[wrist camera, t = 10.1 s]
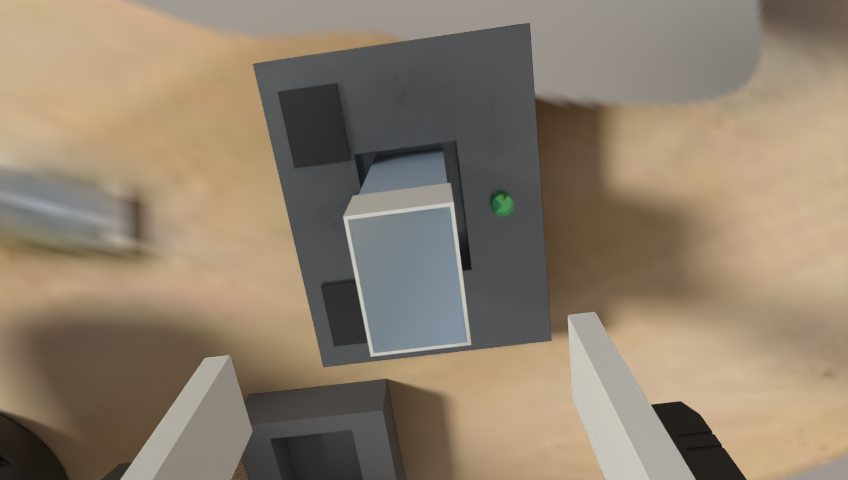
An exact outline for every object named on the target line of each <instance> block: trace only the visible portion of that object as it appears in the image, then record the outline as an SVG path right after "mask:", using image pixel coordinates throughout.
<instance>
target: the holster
mask: <svg viewBox="0 0 848 480" xmlns="http://www.w3.org/2000/svg"><path fill="white" fill-rule="evenodd" d="M244 404H245V407H246V410H247V414H248V417H249V421H250V424H251V427H252V431H253V432H252V434H251V436H250V438H249V441H248V443H247V445H246V447H245V450H244V452H243V454H242V456H241V457H242V460H243V463H244V467H245V470H246V473H247V476H248V480H406V479H405V474H404V469H403V463H402V458H401V453H400V447H399V442H398V437H397V432H396V426H395V421H394V416H393V410H392V405H391V400H390V395H389V389H388V384H387V379H383V380H374V381H365V382H356V383H348V384H339V385H330V386H321V387H313V388H304V389H295V390H286V391H278V392H269V393H260V394H251V395H248V397H247V399H246V401H245V403H244Z"/></svg>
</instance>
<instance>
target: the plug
mask: <svg viewBox="0 0 848 480" xmlns="http://www.w3.org/2000/svg"><path fill="white" fill-rule="evenodd" d="M343 219H344V224H345V229H346V234H347V239H348V244H349V249H350V254H351V259H352V264H353V270H354V275H355V280H356V285H357V290H358V295H359V300H360V305H361V310H362V315H363V320H364V325H365V330H366V335H367V340H368V346H369V351H370V356H371V357H372V356H381V355H390V354H398V353H407V352H415V351H424V350H432V349H441V348H450V347H458V346H467V345H471V338H470V330H469V322H468V314H467V306H466V298H465V290H464V282H463V274H462V266H461V258H460V250H459V242H458V234H457V226H456V218H455V210H454V202H453V195H452V188H451V183H447V177H446V170H445V162H444V154H443V147H442V148H435V149H427V150H420V151H413V152H405V153H398V154H391V155H383V156H376V157H375V158H374V161H373V163H372V165H371V167H370V170H369V172H368V174H367V177H366V179H365V181H364V183H363V186H362V188H361V190H360V193H359V195H354V196H353V197H352V199H351V201H350V203H349V205H348V207H347V209H346V211H345V214H344V216H343Z"/></svg>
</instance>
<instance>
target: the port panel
mask: <svg viewBox="0 0 848 480" xmlns="http://www.w3.org/2000/svg"><path fill="white" fill-rule="evenodd" d="M253 66H254V70H255V75H256V79H257V83H258V88H259V92H260V96H261V100H262V105H263V109H264V113H265V118H266V122H267V126H268V131H269V135H270V139H271V143H272V148H273V152H274V156H275V161H276V165H277V169H278V174H279V178H280V182H281V186H282V191H283V195H284V199H285V204H286V208H287V212H288V217H289V221H290V225H291V229H292V234H293V238H294V242H295V247H296V251H297V255H298V260H299V264H300V268H301V272H302V277H303V281H304V285H305V290H306V294H307V298H308V303H309V307H310V311H311V315H312V320H313V324H314V328H315V333H316V337H317V341H318V346H319V350H320V354H321V359H322V363H323V367H329V366H338V365H346V364H355V363H363V362H372V361H381V360H389V359H398V358H406V357H415V356H424V355H432V354H441V353H449V352H458V351H467V350H475V349H484V348H492V347H501V346H510V345H518V344H527V343H536V342H544V341H552V340H551V326H550V311H549V297H548V282H547V268H546V253H545V238H544V224H543V209H542V195H541V180H540V166H539V151H538V136H537V122H536V107H535V93H534V78H533V64H532V50H531V34H530V23H526V24H518V25H511V26H505V27H498V28H491V29H484V30H478V31H471V32H464V33H457V34H450V35H443V36H436V37H430V38H423V39H416V40H409V41H402V42H396V43H389V44H382V45H375V46H368V47H362V48H355V49H348V50H341V51H335V52H328V53H321V54H314V55H307V56H301V57H294V58H287V59H280V60H273V61H267V62H261V63H255V64H253ZM442 147H443V154H444V162H445V170H446V177H447V183H451V188H452V195H453V202H454V210H455V218H456V226H457V234H458V242H459V250H460V258H461V266H462V274H463V282H464V290H465V298H466V306H467V314H468V322H469V330H470V338H471V345H467V346H458V347H450V348H441V349H432V350H424V351H415V352H407V353H398V354H390V355H381V356H372V357H371V356H370V351H369V346H368V340H367V335H366V330H365V325H364V320H363V315H362V310H361V305H360V300H359V295H358V290H357V285H356V280H355V275H354V270H353V264H352V259H351V254H350V249H349V244H348V239H347V234H346V229H345V224H344V219H343V216H344V214H345V211H346V209H347V207H348V205H349V203H350V201H351V199H352V197H353V196H354V195H359V193H360V190H361V188H362V186H363V183H364V181H365V179H366V177H367V174H368V172H369V170H370V167H371V165H372V163H373V161H374V158H375V157H376V156H383V155H391V154H398V153H405V152H413V151H420V150H427V149H435V148H442Z"/></svg>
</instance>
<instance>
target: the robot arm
mask: <svg viewBox="0 0 848 480" xmlns="http://www.w3.org/2000/svg"><path fill="white" fill-rule="evenodd" d="M568 331H569V348H570V366H571V384H572V397H573V399H574V402H575V404H576V407H577V409H578V412H579V414H580V417H581V419H582V422H583V424H584V427H585V429H586V432H587V434H588V437H589V439H590V442H591V444H592V447H593V449H594V452H595V454H596V457H597V459H598V462H599V464H600V467H601V469H602V472H603V474H604V477H605V479H606V480H746V478H745V477H744V475H743V474H742V473H741V471H740V470H739V468H738V467H737V466H736V464H735V463H734V461H733V460H732V459H731V457H730V456H729V454H728V453H727V452H726V450H725V449H724V448H722V445H721V443H720V442H719V440H718V439H717V438H716V436H715V435H714V434H712V431H711V429H710V428H709V426H708V425H707V424H706V422H705V421H704V419H703V418H702V417H701V415H700V414H698V413H697V412H695V411H694V410H693V409H691V408H690V407H688V406H687V405H685V404H684V403H682V402H681V401H680V402H671V403H662V404H653V405H651V404H650V403H649V401H648V399H647V398H646V396H645V394H644V393H643V391H642V389H641V388H640V386H639V384H638V383H637V381H636V379H635V378H634V376H633V374H632V373H631V371H630V369H629V368H628V366H627V364H626V363H625V361H624V359H623V358H622V356H621V354H620V353H619V351H618V349H617V348H616V346H615V344H614V343H613V341H612V340H611V338H610V336H609V335H608V333H607V331H606V330H605V328H604V326H603V325H602V323H601V321H600V320H599V318H598V316H597V315H596V313H595V312H587V313H579V314H571V315H568ZM252 432H253V431H252V427H251V424H250V421H249V417H248V414H247V410H246V407H245V404H244V400H243V397H242V394H241V390H240V387H239V384H238V380H237V377H236V373H235V370H234V367H233V363H232V360H231V357H230V355H225V356H217V357H208V358H204V360H203V361H202V363H201V364H200V365H199V367H198V368H197V370H196V371H195V373H194V374H193V376H192V377H191V378H190V380H189V381H188V383H187V384H186V386H185V387H184V389H183V390H182V391H181V393H180V394H179V396H178V397H177V399H176V400H175V402H174V403H173V404H172V406H171V407H170V409H169V410H168V412H167V413H166V415H165V416H164V417H163V419H162V420H161V422H160V423H159V425H158V426H157V428H156V429H155V430H154V432H153V433H152V435H151V436H150V438H149V439H148V441H147V442H146V443H145V445H144V446H143V448H142V449H141V451H140V452H139V454H138V455H137V456H136V458H135V459H134V461H133V462H132V463H125V464H119V465H118V466H117V467H116V468H114V469H113V470H112V471H111V472H110V473H109V474H107V475H106V476H105V477H104V478H103V479H101V480H231V479H232V477H233V474H234V472H235V470H236V468H237V465H238V463H239V461H240V459H241V456H242V454H243V452H244V450H245V447H246V445H247V443H248V441H249V438H250V436H251V434H252ZM0 480H67V479H66V476H65V474H64V472H63V470H62V468H61V466H60V465H59V463H58V462H57V460H56V459H55V457H54V456H53V455H52V453H51V452H50V451H49V450H48V449H47V448H46V447H45V446H44V445H43V444H42V443H41V442H40V441H39V440H38V439H37V438H36V437H35V436H33V435H32V434H31V433H30V432H28V431H27V430H25V429H24V428H23V427H21V426H19V425H18V424H16V423H15V422H13V421H11V420H9V419H7V418H5V417H3V416H1V415H0Z"/></svg>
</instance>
